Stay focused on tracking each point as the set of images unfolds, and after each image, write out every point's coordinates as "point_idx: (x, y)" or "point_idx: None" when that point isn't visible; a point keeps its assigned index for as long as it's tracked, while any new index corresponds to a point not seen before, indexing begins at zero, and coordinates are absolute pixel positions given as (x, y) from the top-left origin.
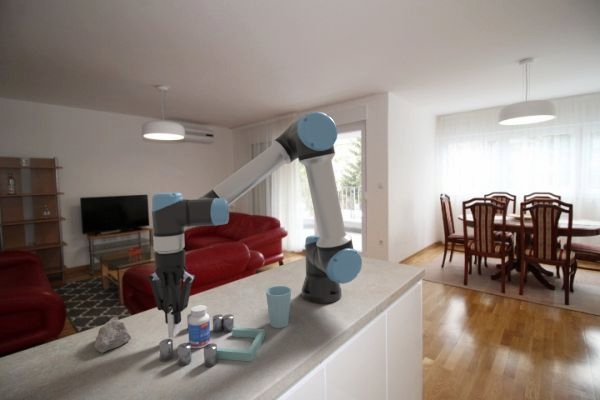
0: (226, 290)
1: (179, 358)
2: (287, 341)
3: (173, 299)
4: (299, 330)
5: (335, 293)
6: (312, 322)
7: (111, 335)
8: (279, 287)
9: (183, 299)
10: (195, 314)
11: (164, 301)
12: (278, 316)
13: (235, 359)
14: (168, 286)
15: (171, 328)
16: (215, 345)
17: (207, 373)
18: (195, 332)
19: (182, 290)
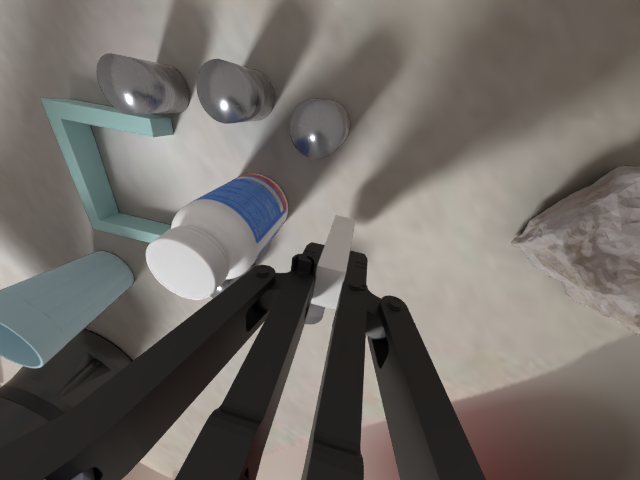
0: (306, 422)
1: (247, 68)
2: (51, 192)
3: (282, 328)
4: (57, 235)
5: None
6: (53, 263)
7: (626, 220)
8: (31, 361)
9: (206, 310)
10: (182, 231)
11: (356, 332)
12: (65, 266)
13: (112, 107)
14: (307, 464)
15: (337, 231)
16: (111, 99)
17: (149, 26)
18: (223, 188)
19: (160, 375)
